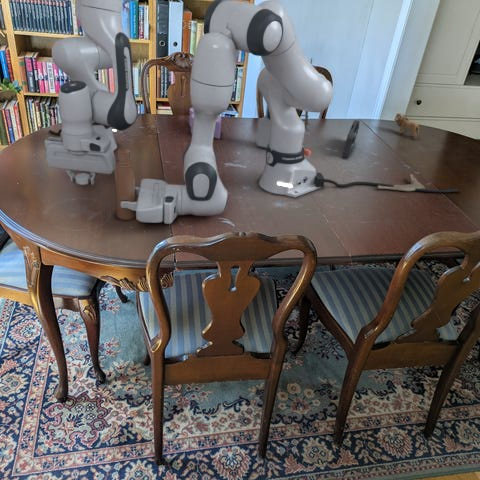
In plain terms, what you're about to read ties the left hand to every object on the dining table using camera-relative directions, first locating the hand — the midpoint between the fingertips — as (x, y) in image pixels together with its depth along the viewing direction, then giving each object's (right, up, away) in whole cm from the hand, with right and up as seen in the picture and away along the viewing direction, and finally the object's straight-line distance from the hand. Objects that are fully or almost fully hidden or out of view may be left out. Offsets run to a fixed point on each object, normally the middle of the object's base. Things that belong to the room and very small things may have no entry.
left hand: (83, 182), depth 143 cm
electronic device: (+61, +20, +48) cm, 80 cm away
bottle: (+15, -10, -7) cm, 20 cm away
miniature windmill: (+75, +36, +75) cm, 112 cm away
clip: (+33, +29, +57) cm, 72 cm away
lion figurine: (+126, +32, +77) cm, 151 cm away
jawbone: (+106, +3, +28) cm, 110 cm away
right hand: (+15, -6, -10) cm, 19 cm away
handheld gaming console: (+94, +20, +54) cm, 110 cm away
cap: (0, +2, -1) cm, 2 cm away
